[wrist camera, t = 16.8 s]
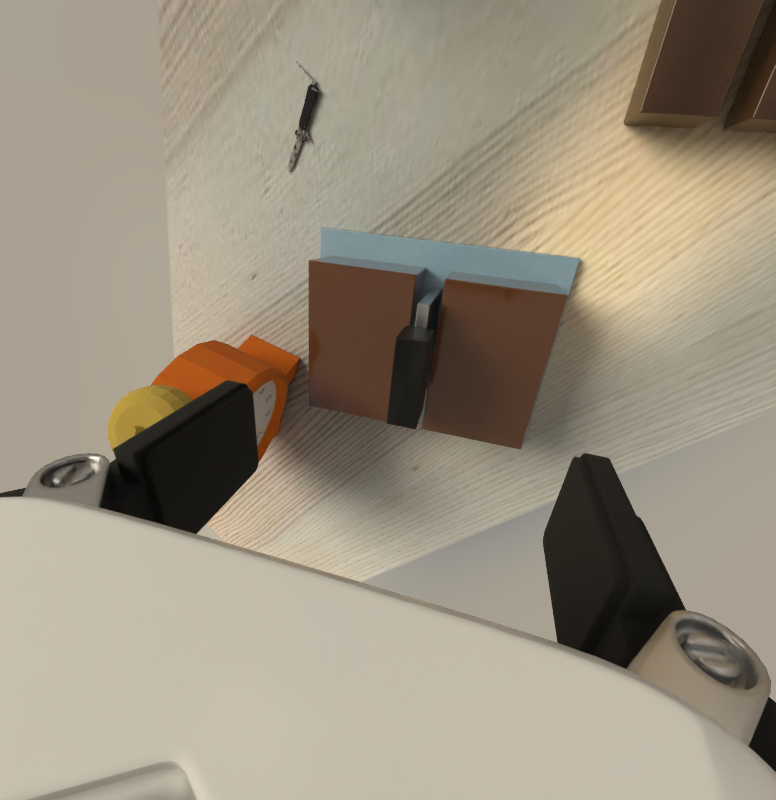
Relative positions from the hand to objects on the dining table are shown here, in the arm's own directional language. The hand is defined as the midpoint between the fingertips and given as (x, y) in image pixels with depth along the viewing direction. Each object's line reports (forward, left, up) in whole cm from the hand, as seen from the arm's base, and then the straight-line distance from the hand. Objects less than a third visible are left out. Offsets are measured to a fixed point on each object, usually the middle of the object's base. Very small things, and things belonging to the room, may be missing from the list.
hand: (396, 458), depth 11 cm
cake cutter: (+2, +3, -22) cm, 23 cm away
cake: (+2, +3, -23) cm, 23 cm away
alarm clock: (+18, +11, -23) cm, 31 cm away
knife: (+14, -12, -23) cm, 30 cm away
